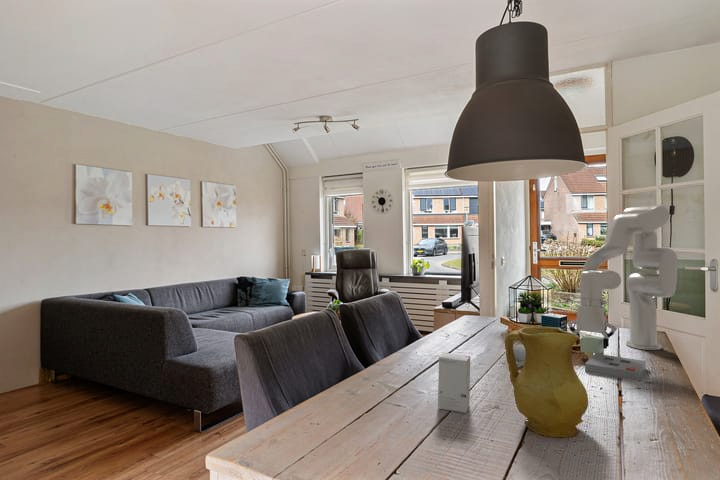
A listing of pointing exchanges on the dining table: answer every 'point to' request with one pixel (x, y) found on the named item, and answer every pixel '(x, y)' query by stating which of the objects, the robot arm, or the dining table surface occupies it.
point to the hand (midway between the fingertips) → (591, 346)
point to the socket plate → (616, 367)
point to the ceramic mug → (520, 355)
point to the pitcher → (547, 381)
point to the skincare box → (454, 382)
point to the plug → (592, 345)
